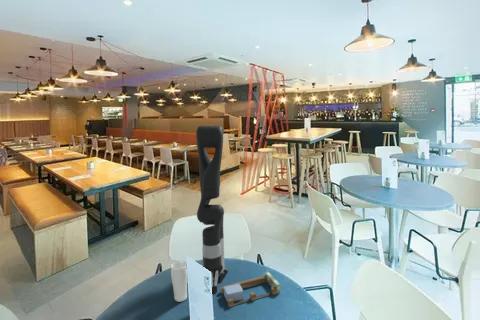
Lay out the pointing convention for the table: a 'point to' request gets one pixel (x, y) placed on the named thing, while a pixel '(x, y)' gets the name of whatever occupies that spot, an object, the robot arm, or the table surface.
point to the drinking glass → (179, 280)
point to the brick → (233, 292)
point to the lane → (252, 282)
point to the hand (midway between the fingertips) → (213, 293)
